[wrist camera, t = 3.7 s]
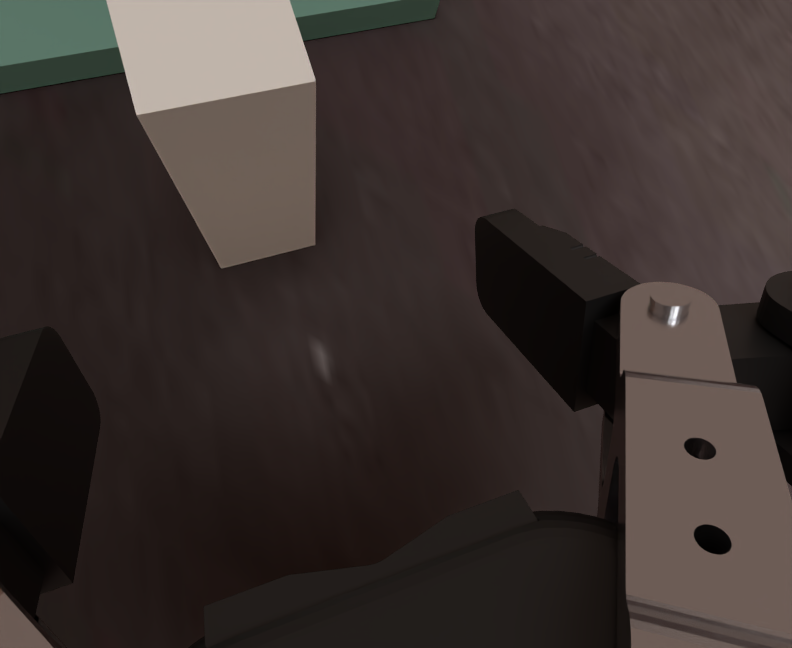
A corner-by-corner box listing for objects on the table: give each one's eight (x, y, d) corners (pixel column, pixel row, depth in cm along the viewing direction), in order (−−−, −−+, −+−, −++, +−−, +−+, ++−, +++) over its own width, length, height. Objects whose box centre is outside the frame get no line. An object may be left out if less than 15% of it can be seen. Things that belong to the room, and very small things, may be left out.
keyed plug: (315, 245, 23) (315, 80, 13) (221, 268, 22) (136, 115, 12) (283, 141, 24) (258, -97, 13) (191, 160, 23) (85, -77, 12)
